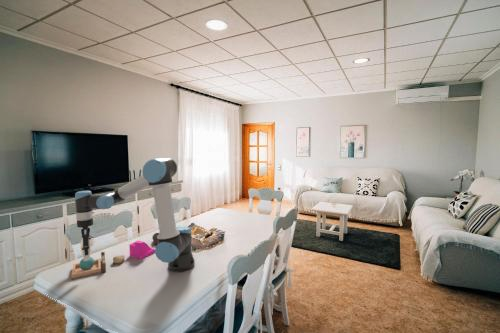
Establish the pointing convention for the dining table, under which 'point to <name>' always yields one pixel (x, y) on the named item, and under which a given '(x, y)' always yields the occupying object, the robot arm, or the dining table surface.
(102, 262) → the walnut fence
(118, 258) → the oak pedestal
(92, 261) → the ball
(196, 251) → the dining table surface
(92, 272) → the terracotta dish
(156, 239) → the fossil
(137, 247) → the magenta block
